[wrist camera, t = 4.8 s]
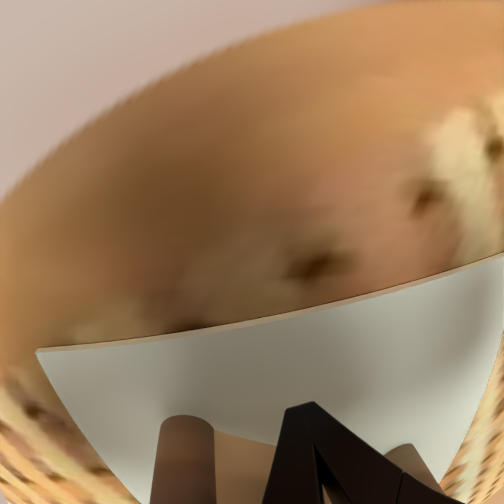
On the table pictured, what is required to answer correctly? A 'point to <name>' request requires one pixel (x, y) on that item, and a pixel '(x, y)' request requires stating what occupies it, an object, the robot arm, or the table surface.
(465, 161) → the table surface
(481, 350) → the card
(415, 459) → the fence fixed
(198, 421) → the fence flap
